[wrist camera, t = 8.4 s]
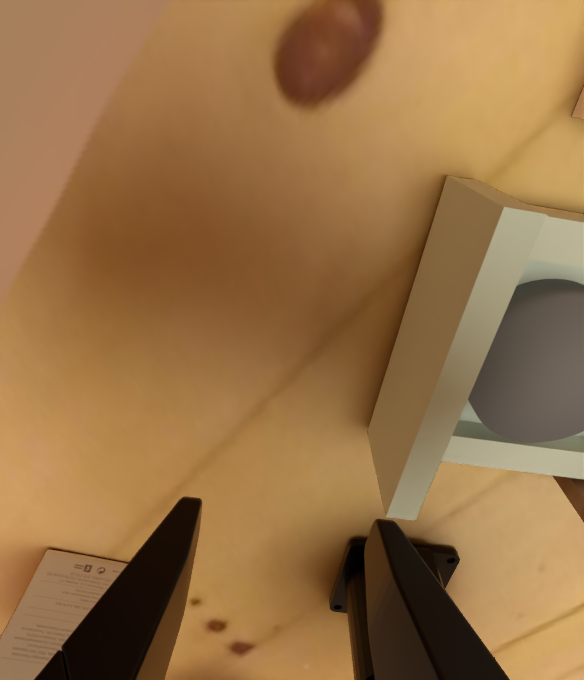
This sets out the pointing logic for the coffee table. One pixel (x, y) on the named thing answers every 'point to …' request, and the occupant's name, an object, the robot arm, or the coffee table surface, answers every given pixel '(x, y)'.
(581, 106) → the block
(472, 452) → the tray
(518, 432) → the cylinder
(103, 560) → the small box
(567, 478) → the holder
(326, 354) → the coffee table surface
